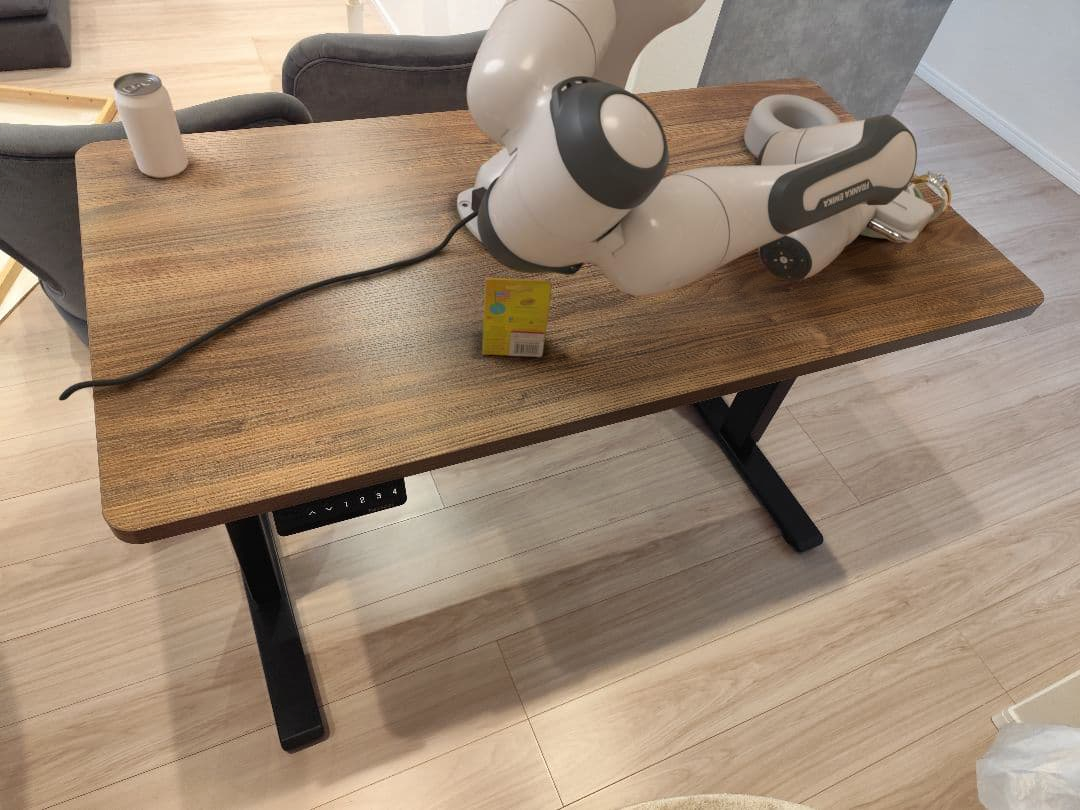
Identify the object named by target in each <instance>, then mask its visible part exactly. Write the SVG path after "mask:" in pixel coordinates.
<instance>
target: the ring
mask: <svg viewBox="0 0 1080 810" xmlns="http://www.w3.org/2000/svg"><path fill="white" fill-rule="evenodd" d="M910 182H911V183H913V184H916V185H917V184H918V185H919V184H925V185H927V184H930V185H932V186H933V187H934V188H936V189H937V190H938V191H939V193H940V195H941V203H940V207H939V209H938V211H937V212H936V213H935V214H933V215H932V217H931V218H930V220H929V221H928V223H932V222H934V221H936V220H938V219H940V218H942V216H943V215H945V213H946V212H947V211H948V209H949V207H950V206H951V201H952V193H951V189H950V187H949V185H948V179H947V177H945V174H944V173H941V172H939V171H938V172H935V173H934V172H932V171H931V170H927V173H925V174H924V173H923V174H921V175H918V176H917V177H915V178H913V179H911V181H910Z"/></svg>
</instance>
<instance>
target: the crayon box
mask: <svg viewBox="0 0 1080 810" xmlns="http://www.w3.org/2000/svg"><path fill="white" fill-rule="evenodd" d="M552 288H553V283H552V282H551V280H548V279H528V278H527V279H526V278H506V277H505V278H504V277H485V281H484V299H483V317H482V330H481V331H482V332H481V354H482V356H490V355H492V356H509V357H510V356H511V357H534V358H535V357H536V358H543V356H544V347H545V341H546V340H545V339H546V333H547V326H548V319H549V312H550V306H551V299H552V294H551V293H552Z"/></svg>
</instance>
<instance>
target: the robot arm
mask: <svg viewBox="0 0 1080 810" xmlns="http://www.w3.org/2000/svg"><path fill="white" fill-rule="evenodd" d="M706 1H707V0H506V1H505V3H504V4H503V5H502V7H501V9H500V10H499V11H498V13H497V15H496V16H495V17H494V19H493V21H492V23H491V24H490V26H489V28H488V30H487V31H486V34H485V35H484V38H483V39H482V41H481V44H480V46H479V48H478V50H477V53H476V56H475V58H474V61H473V64H472V66H471V69H470V73H469V77H468V79H467V80H468V81H467V84H466V103H467V108H468V111H469V113H470V117H471V118H472V120H473V122H474V123H475V125H476V126H477V128H478V129H479V130H480V131H481V132H482V133H483V135H485V136H486V137H487V138H488V139H490V140H491V141H493V142H494V143H496V144H498V145H501V146H503V147H502V148H501V149H500V150H499V151H497V152H496V153H495V154H494V155H492V157H489V159H487V160H486V161H484V162H483V164H482V165H481V166H480V167H479V169H478V170H477V173H476V177H475V181H474V184H473V186H472V187H469V188H467V189H465V190H463V191H461V192H459V193H458V195H457V199H456V209H457V210H456V211H457V214H458V216H459V218H460V219H461V220H460V221H459V222H458V223H456V224H455V225H454V226H453V227H452V228H451V229H450V231H448V234H447V235H446V236H445V238H444V239H443V241H442V242H441V243H440V244H439V245H438V246H436V247H434V248H433V249H431V250H430V251H427V252H426V253H424V254H422V255H419V256H416V257H412V258H410V259H406V260H401V261H396V262H393V263H390V264H386V265H382V266H379V267H375V268H371V269H367V270H366V269H365V270H362V271H357V272H353V273H347V274H343V275H339V276H338V275H337V276H335V277H330V278H327V279H324V280H320V281H317V282H314V283H311V284H308V285H305V286H302V287H299V288H296V289H294V290H291V291H288V292H286V293H283V294H281V295H279V296H276V297H274V298H271V299H269V300H267V301H265V302H262V303H261V304H258V305H256V306H254V307H252V308H249V309H247V310H246V311H244V312H242V313H240V314H238V315H237V316H234V317H233V318H231V319H229V320H227V321H225V322H224V323H222V324H220V325H218V326H216V327H215V328H213V329H211V330H209V331H208V332H205V334H202V335H201V336H199V337H197V338H195V339H194V340H192V341H190V342H189V343H186V344H185V345H184V346H182V347H180V348H179V349H177V350H175V351H174V352H172V353H171V354H169V355H168V356H166V357H165V358H162V359H161V360H160V361H157V362H156V363H154V364H152V365H150V366H148V367H146V368H144V369H142V370H140V371H136V372H135V373H132V374H130V375H127V376H124V377H118V378H110V379H97V380H96V379H94V380H85V381H80V382H77V383H74V384H72V385H70V386H69V387H67V388H66V389H65V390H63V392H61V394H60V396H59V397H58V400H59V401H65V400H67V399H68V398H70V397H71V396H72V395H73V394H74V393H76V392H77V391H80V390H83V389H89V388H99V387H111V386H112V387H113V386H121V385H125V384H128V383H132V382H135V381H137V380H140V379H143V378H145V377H147V376H149V375H150V374H152V373H155V372H157V371H158V370H161V369H162V368H163V367H165V366H167V365H169V364H170V363H173V361H175V360H177V359H178V358H179V357H181V356H183V355H184V354H186V353H188V352H189V351H191V350H192V349H194V348H195V347H197V346H199V345H201V344H203V343H205V342H206V341H208V340H210V339H212V338H214V337H215V336H217V335H219V334H220V333H222V332H224V331H226V330H228V329H229V328H230V327H232V326H234V325H236V324H238V323H240V322H242V321H244V320H245V319H247V318H249V317H251V316H253V315H255V314H257V313H259V312H261V311H264V310H266V309H268V308H270V307H272V306H275V305H277V304H280V303H281V302H283V301H286V300H289V299H291V298H293V297H296V296H299V295H302V294H305V293H307V292H311V291H314V290H317V289H320V288H323V287H327V286H330V285H333V284H336V283H337V284H338V283H341V282H345V281H348V280H354V279H355V280H356V279H358V278H359V279H360V278H365V277H369V276H373V275H376V274H380V273H383V272H384V273H385V272H387V271H391V270H395V269H399V268H402V267H406V266H407V267H408V266H411V265H414V264H417V263H420V262H423V261H425V260H428V259H429V258H431V257H433V256H435V255H437V254H438V253H440V252H441V251H442V250H444V249H445V248H447V246H448V244H449V243H450V241H451V240H452V238H453V237H454V236H455V234H457V232H458V231H459V230H460V229H461V228H462V227H464V226H465V227H466V228H467V229H468V231H469V232H470V233H471V234H472V235H473V236H474V238H475V239H477V240H478V241H479V242H480V243H482V244H483V246H484V248H485V249H486V251H487V252H488V253H489V255H491V257H492V258H493V259H494V260H496V261H497V262H498V263H499V264H500V265H502V266H504V267H506V268H507V269H510V270H512V271H515V272H518V273H523V274H524V273H525V274H540V273H541V274H544V273H555V274H559V275H564V276H570V275H571V276H573V275H575V274H577V273H578V272H579V271H580V270H581V268H582V267H583V265H584V264H585V263H591V264H594V265H596V266H597V267H598V268H599V269H600V270H601V272H602V273H603V275H604V276H605V278H606V279H607V280H608V282H610V284H611V285H612V286H613V287H615V288H617V289H618V290H619V291H621V292H623V293H625V294H628V295H631V296H635V297H650V296H654V295H658V294H662V293H666V292H670V291H673V290H676V289H679V288H682V287H684V286H686V285H689V284H691V283H693V282H695V281H697V280H700V279H702V278H703V277H706V276H707V275H709V274H711V273H712V272H715V271H716V270H717V269H719V268H722V267H723V266H725V265H727V264H729V263H731V262H733V261H734V260H737V259H738V258H741V257H743V256H744V255H747V254H748V253H751V252H752V251H755V250H756V249H758V256H759V260H760V263H761V264H762V265H763V267H764V268H765V269H766V270H767V271H768V272H769V273H771V274H772V275H774V276H776V277H777V278H779V279H782V280H786V281H802V280H803V281H804V280H806V279H808V278H810V277H813V276H815V275H817V274H818V273H819V272H821V271H823V270H824V269H825V268H826V267H828V265H830V264H831V263H832V262H833V261H834V260H835V259H836V258H837V257H838V256H839V255H840V254H841V253H842V252H843V250H844V249H845V247H847V246H849V245H850V244H851V243H853V241H854V240H856V239H857V237H858V236H859V235H860V233H861V232H862V231H863V230H864V229H866V228H867V229H869V230H871V231H873V232H875V233H877V234H878V235H880V236H882V237H884V238H883V239H886V240H888V241H891V242H893V243H897V244H898V243H899V244H901V243H905V244H911V243H913V242H914V241H915V240H916V239H917V238H918V237H919V234H920V233H921V232H922V231H923V230H924V228H925V227H926V226H927V224H928V223H929V222H928V221H929V220H930V218H931V217H933V216H934V213H935V210H934V209H935V208H934V207H933V205H932V204H931V203H929V202H927V201H926V200H925V201H923V200H921V199H919V198H917V197H915V193H914V188H915V186H916V187H917V184H913V183H911V182H910V181H912V180H913V177H914V175H915V171H916V168H917V167H916V166H917V161H918V148H917V143H916V139H915V136H914V134H913V133H912V132H911V130H910V129H909V128H908V127H907V126H906V125H905V124H904V123H903V122H902V121H900V120H898V119H897V118H896V117H894V116H893V115H891V114H889V113H887V114H881V115H876V116H871V117H866V118H865V119H859V120H853V121H845V122H841V123H837V124H830V125H823V126H815V127H809V128H802V129H795V130H788V131H783V132H777V133H775V134H774V135H772V136H771V137H770V138H769V139H768V140H767V142H766V143H765V144H764V146H763V147H762V149H761V151H760V153H759V155H758V157H757V158H756V159H755V162H754V165H751V164H750V165H714V166H712V165H711V166H702V167H695V168H690V169H685V170H681V171H678V172H674V173H672V174H670V175H668V176H665V175H666V173H667V171H668V168H669V163H670V152H669V146H668V141H667V135H666V133H665V130H664V128H663V125H662V123H661V121H660V120H659V118H658V116H657V114H656V113H655V112H654V111H653V110H652V108H651V107H650V106H649V105H648V104H647V103H646V102H645V101H644V100H643V99H641V98H640V97H639V96H637V95H636V94H634V93H632V92H630V91H629V90H626V86H627V83H628V80H629V76H630V73H631V71H632V68H633V66H634V64H635V63H636V60H637V59H638V58H639V56H640V55H641V53H642V51H643V50H644V49H645V48H646V47H647V46H648V45H649V44H650V43H651V42H652V41H653V40H654V39H655V38H657V37H658V36H659V35H660V34H663V32H665V31H667V30H668V29H670V28H672V27H675V26H677V25H679V24H682V23H684V22H685V21H687V20H688V19H690V18H691V17H693V16H694V15H695V14H696V13H697V12H699V10H700V8H702V6H703V5H704V4H705V2H706ZM93 386H94V387H93Z"/></svg>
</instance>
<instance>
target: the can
mask: <svg viewBox="0 0 1080 810" xmlns="http://www.w3.org/2000/svg"><path fill="white" fill-rule="evenodd" d="M112 86H113V89H114V93H113V99H114V103H115V105H116V108H117V112H118V114H119V117H120V120H121V122H122V126H123V128H124V131H125V135H126V137H127V140H128V142H129V146H130V148H131V151H132V155H133V156H134V160H135V162H136V165H137V167H138V169H139V171H140V172H141V173H143V174H144V175H146V176H148V177H150V178H155V179H166V178H173V177H176V176H178V175H180V174H182V173H183V172H184V171H186V168H187V167H188V165H189V159H188V155H187V152H186V149H185V148H186V147H185V145H184V140H183V138H182V134H181V130H180V128H179V124H178V120H177V118H176V113H175V110H174V106H173V103H172V100H171V97H170V94H169V92H168V89H167V88H166V87H165V86H164V85H163V82H162V79H161V78H160V76H157V75H156V74H153V73H149V72H143V71H142V72H141V71H139V72H137V71H136V72H129V73H126V74H122V75H120V76H119V77H117V78H116V79H115V80H114V82H113V84H112Z"/></svg>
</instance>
